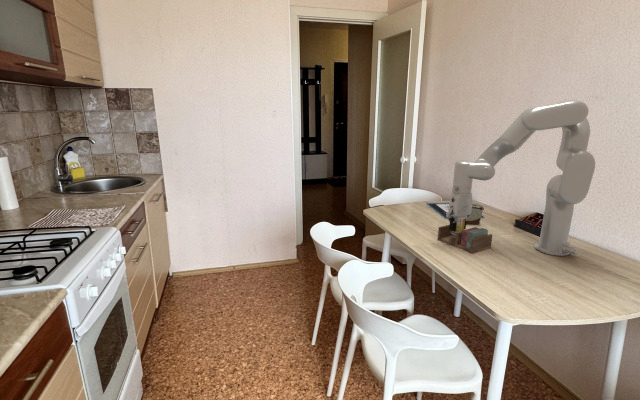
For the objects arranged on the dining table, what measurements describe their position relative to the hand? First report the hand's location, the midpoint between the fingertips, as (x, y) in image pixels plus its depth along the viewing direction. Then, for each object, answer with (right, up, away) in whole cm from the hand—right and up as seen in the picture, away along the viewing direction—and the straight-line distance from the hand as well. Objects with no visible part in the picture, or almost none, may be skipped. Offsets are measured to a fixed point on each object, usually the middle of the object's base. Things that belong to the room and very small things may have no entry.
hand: (457, 229), depth 154 cm
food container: (+16, +1, +26) cm, 30 cm away
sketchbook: (+17, +6, +48) cm, 51 cm away
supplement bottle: (0, -2, +1) cm, 2 cm away
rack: (+2, -6, -2) cm, 7 cm away
